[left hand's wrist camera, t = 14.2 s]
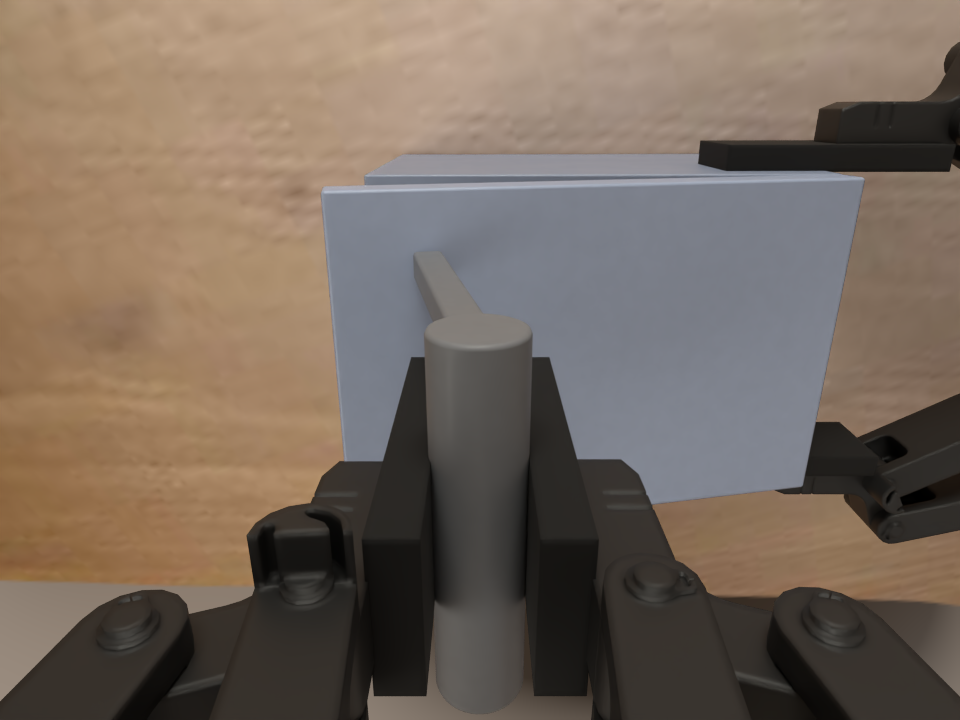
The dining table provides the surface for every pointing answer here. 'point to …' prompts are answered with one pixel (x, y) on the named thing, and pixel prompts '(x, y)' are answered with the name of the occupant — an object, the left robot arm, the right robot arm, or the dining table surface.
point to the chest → (548, 168)
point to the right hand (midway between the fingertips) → (693, 313)
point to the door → (580, 354)
